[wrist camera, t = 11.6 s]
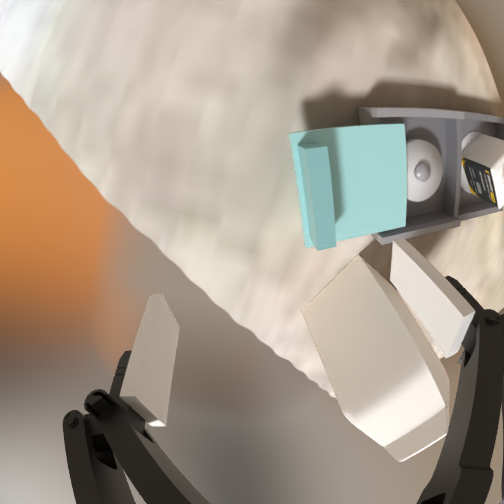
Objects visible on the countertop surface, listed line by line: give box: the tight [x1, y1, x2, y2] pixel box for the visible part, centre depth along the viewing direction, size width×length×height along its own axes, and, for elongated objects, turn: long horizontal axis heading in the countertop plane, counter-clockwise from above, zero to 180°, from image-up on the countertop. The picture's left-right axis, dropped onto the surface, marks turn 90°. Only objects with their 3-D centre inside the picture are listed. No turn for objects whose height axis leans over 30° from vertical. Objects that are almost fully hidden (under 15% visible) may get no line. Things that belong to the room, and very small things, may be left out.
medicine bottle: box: [462, 134, 504, 209], centre depth 24 cm, size 7×7×12 cm
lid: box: [288, 123, 407, 251], centre depth 26 cm, size 12×13×4 cm
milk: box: [301, 255, 449, 462], centre depth 29 cm, size 12×12×26 cm
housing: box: [357, 107, 504, 245], centre depth 28 cm, size 16×28×5 cm, turn 101°
